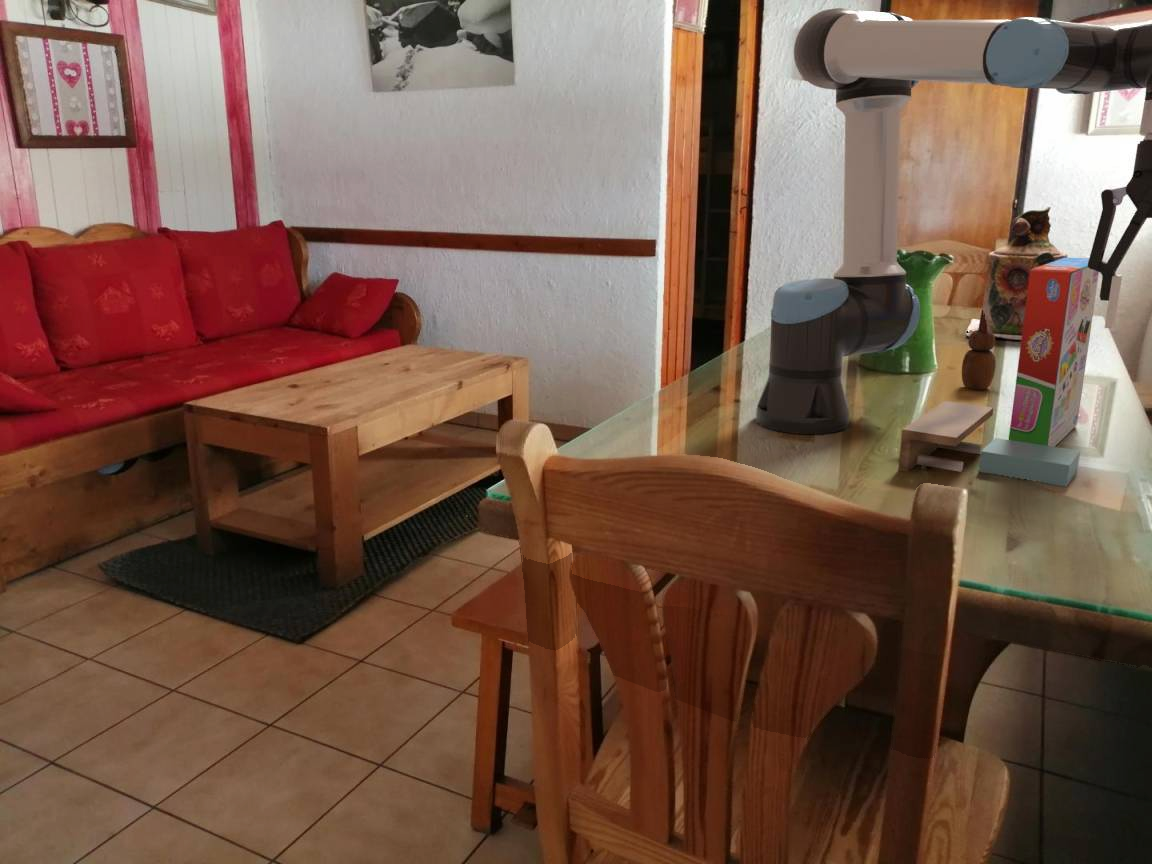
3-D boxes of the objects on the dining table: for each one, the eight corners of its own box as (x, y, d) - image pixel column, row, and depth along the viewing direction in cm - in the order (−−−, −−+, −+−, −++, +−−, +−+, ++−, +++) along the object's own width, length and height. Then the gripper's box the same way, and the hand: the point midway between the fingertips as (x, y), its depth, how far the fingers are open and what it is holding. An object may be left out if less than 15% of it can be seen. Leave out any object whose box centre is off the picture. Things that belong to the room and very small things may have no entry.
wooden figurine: (962, 383, 179) (971, 307, 175) (994, 386, 176) (1004, 309, 172) (957, 390, 173) (965, 312, 169) (989, 393, 170) (999, 314, 166)
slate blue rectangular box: (978, 471, 126) (981, 451, 125) (992, 457, 132) (995, 437, 131) (1066, 486, 120) (1069, 465, 119) (1077, 471, 126) (1080, 450, 125)
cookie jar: (969, 324, 248) (983, 204, 239) (1071, 330, 238) (1089, 205, 229) (963, 339, 227) (978, 207, 218) (1074, 346, 216) (1094, 208, 208)
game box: (1041, 421, 151) (1063, 256, 144) (1077, 427, 148) (1102, 258, 140) (1006, 450, 136) (1029, 267, 128) (1045, 457, 132) (1072, 269, 125)
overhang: (898, 470, 127) (902, 429, 125) (940, 437, 142) (944, 400, 141) (951, 480, 123) (956, 437, 121) (988, 445, 138) (993, 407, 136)
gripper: (1076, 139, 110) (1051, 326, 117) (1278, 134, 99) (1238, 341, 105) (1087, 141, 116) (1062, 318, 122) (1279, 136, 105) (1240, 332, 111)
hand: (1143, 329), depth 114 cm, fingers open, 7 cm apart
